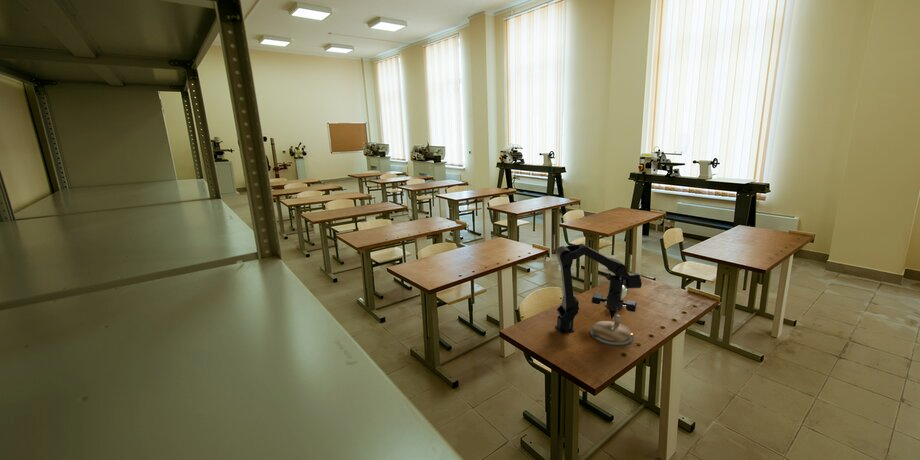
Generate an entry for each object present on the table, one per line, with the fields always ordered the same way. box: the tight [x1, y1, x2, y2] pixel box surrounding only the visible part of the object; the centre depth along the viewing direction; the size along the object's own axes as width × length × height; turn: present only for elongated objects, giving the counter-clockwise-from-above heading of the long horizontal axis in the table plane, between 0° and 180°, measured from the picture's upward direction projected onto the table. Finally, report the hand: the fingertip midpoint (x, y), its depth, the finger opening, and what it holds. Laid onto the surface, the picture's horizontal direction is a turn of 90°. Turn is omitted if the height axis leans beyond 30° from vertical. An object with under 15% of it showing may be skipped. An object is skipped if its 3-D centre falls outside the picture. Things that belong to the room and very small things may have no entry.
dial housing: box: [589, 325, 634, 347], centre depth 173 cm, size 18×18×1 cm
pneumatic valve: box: [621, 286, 629, 300], centre depth 198 cm, size 6×12×12 cm, turn 129°
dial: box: [592, 314, 632, 342], centre depth 172 cm, size 16×16×5 cm
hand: (611, 318), depth 178 cm, fingers closed
